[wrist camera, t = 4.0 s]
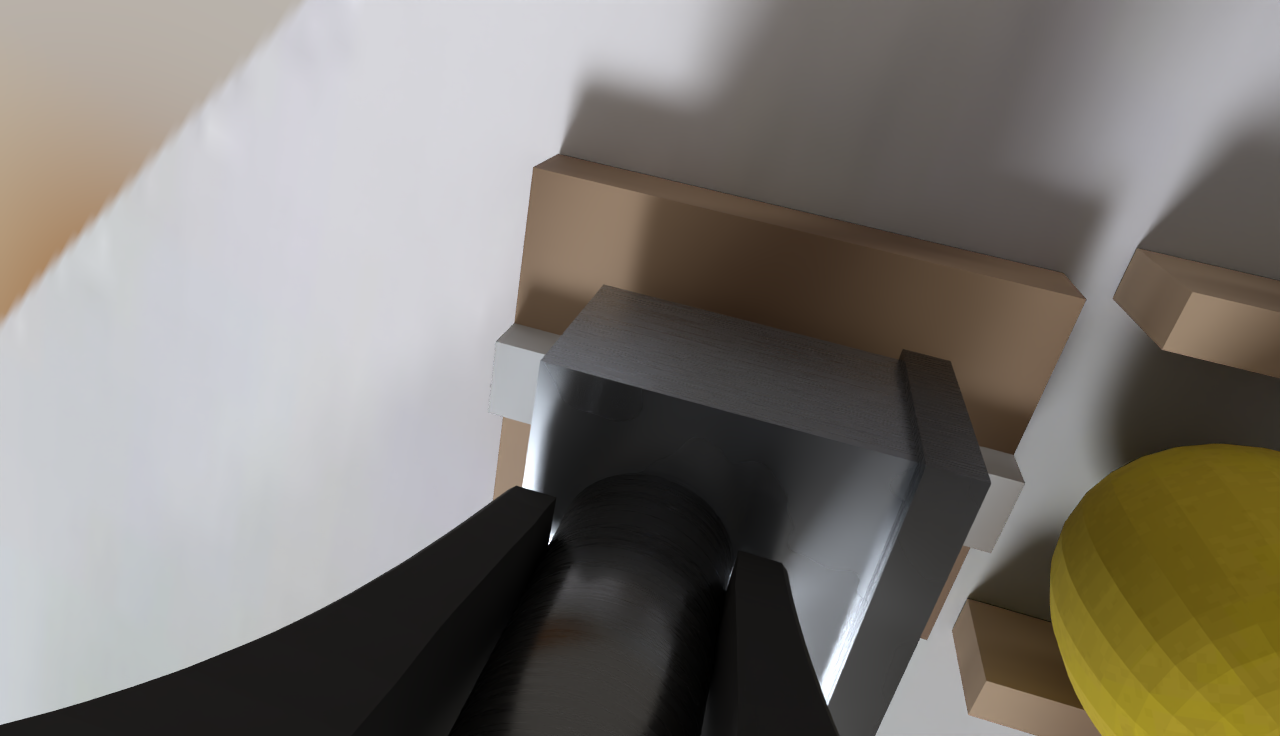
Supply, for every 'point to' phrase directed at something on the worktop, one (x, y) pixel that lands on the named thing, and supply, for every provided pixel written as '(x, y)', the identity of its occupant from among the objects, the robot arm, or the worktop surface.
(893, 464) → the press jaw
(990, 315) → the press bed
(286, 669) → the robot arm
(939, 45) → the worktop surface
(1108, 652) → the lemon
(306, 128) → the worktop surface
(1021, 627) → the lemon cradle
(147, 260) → the worktop surface
